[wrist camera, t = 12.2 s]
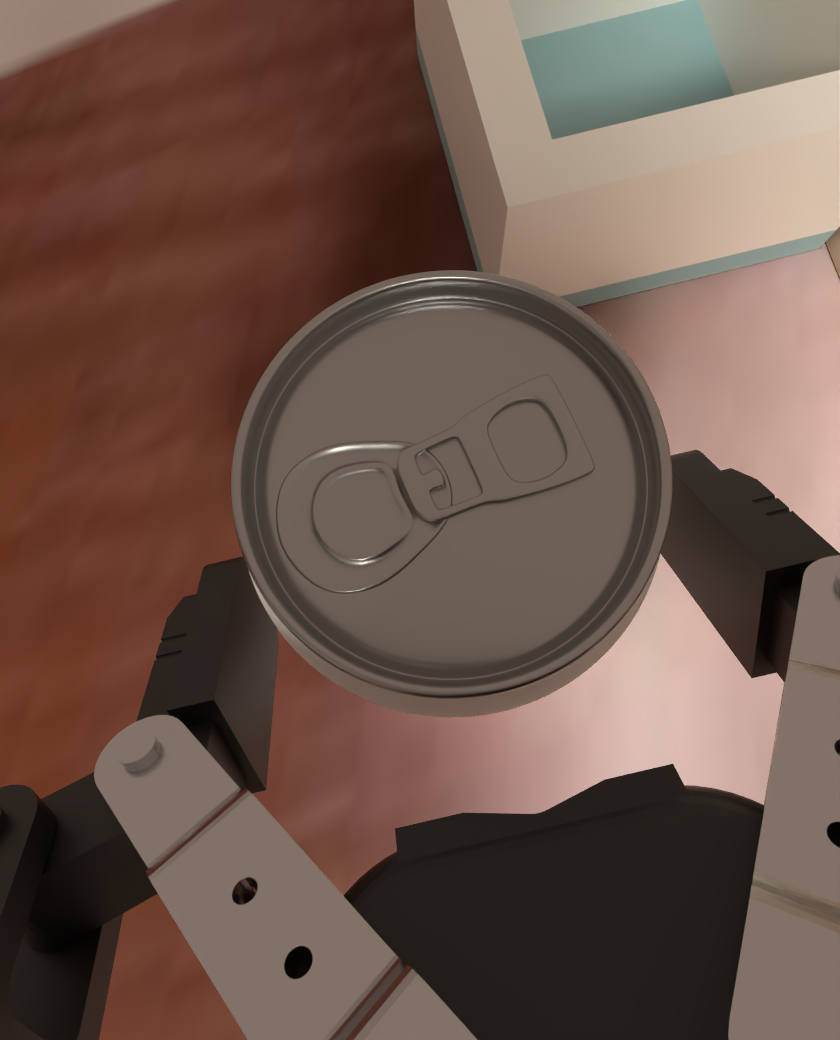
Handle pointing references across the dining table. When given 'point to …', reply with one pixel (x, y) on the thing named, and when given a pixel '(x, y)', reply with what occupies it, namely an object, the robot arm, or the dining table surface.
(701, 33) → the socket block
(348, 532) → the can
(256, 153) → the dining table surface
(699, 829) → the robot arm
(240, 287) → the dining table surface
